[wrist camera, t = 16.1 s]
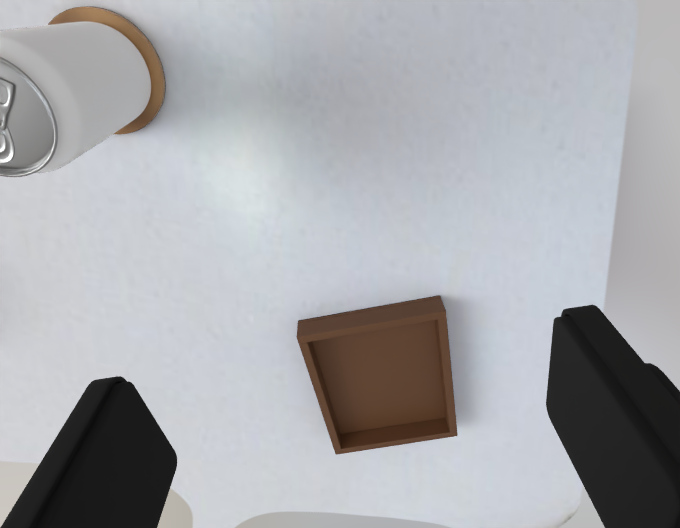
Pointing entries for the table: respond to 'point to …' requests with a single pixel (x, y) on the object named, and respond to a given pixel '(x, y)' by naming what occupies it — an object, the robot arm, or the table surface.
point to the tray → (382, 374)
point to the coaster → (140, 43)
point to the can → (65, 93)
